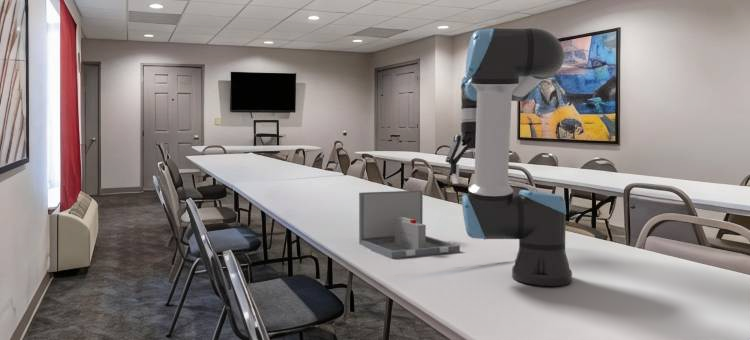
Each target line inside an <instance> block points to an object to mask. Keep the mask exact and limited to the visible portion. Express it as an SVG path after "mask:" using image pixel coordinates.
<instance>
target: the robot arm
mask: <svg viewBox="0 0 750 340" xmlns="http://www.w3.org/2000/svg"><path fill="white" fill-rule="evenodd" d="M564 61H565V51H564V48H563V46H562V43H561V42H560V40H559V39H558V38H557V37H556V36H555V35H554V34H552V33H551V32H549V31H546V30H545V29H541V28H537V27H535V28H533V27H532V28H531V27H530V28H529V27H528V28H493V27H491V28H484V29H477V30H475V31H474V32H473V33H472V35H471V37H470V39H469V44H468V48H467V53H466V61H465V76H463V77H462V78H461V84H460V91H461V93H460V94H461V95H460V98H461V107H460V108H461V110H460V111H461V112H460V113H461V114H460V117H461V119H460V120H461V121H462V122H461V124H460V132H461V135H460V134H457V135H456V134H455V135H453V142H452V144H451V147H450V149H449V151H448V153H447V156H446V158H445V162H446V163H448V164H449V165H450V173H451V176H452V177H451V180H452V184H455V185H457V184H458V185H459V183H460V164H458V163H459V161H460V160H461V159H462V157H463V155H464V154H465V152H466V151H467V150H468V149H469V150H471V149H475V151H474V152H475V153H474V180H473V183H472V184H471V185H470V186H468V189H467V194H466V193H465V194H464V195H462V197H461V200H462V201H461V207H462V214H463V215H462V216H463V222H464V227H465V230H466V234H467V236H468V237H470V238H472V239H479V240H480V239H481V240H484V241H485V240H518V242H519V243H518V245H519V246H518V247H519V248H518V251H517V254H516V258H515V260H514V261H515V262H514V265H513V266H512V269H511V277H512V279H514V280H515V281H517V282H521V283H525V284H530V285H534V286H535V285H536V286H547V287H548V286H550V287H551V286H564V285H569V284H570V283H573V272H572V270H571V269H570V263H569V260H568V257H567V253H566V252H567V251H566V225H567V224H566V219H567V217H566V215H567V208H566V206H567V205H566V200H565V198H564V197H563V196H562V195H559V194H555V193H551V192H550V193H549V192H544V191H538V190H537V191H535V190H527V189H521V190H519V192H518V195H515V194H514V189H513V188H512V187H511V186H510V184H509V182H508V181H509V164H510V163H509V162H510V141H511V120H512V119H511V118H512V102H525V101H526V102H527V101H528V102H529V101H533V100H534V99H535V96H536V93H537V86H538V85H539V84H540V83H541V82H543V80H547V79H550V78H552V77H554V76H555V75H556V73H558V72H559V71H560V70H561V68H562V66H563V64H564ZM461 142H462V143H461Z"/></svg>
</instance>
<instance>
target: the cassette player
mask: <svg viewBox="0 0 750 340" xmlns="http://www.w3.org/2000/svg"><path fill="white" fill-rule="evenodd" d="M426 228H427V227H426V224H423V223H422V224H420V223H416V220H413V219H409V218H405V217H398V219H396V220H395V242H394V244H395V245H396V246H398V247H401V248H402V249H403V250H409V249H420V248H427V247H426V245H427V244H426V242H427V241H426V236H427V235H426V230H427V229H426Z"/></svg>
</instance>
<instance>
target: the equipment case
mask: <svg viewBox="0 0 750 340" xmlns="http://www.w3.org/2000/svg"><path fill="white" fill-rule="evenodd" d="M423 191H424V190H421V189H419V190H398V191H397V190H395V191H372V192H370V191H367V192H364V191H363V192H359V193H358V235H359V236H358V241H359V242H358V244H359V245H361V246H362V247H364V248H365V249H368V250H370V251H371V252H374V253H377V254H380V255H382V256H384V257H387V258H389V259H391V260H392V259H401V258H413V257H422V256H432V255H440V254H442V255H443V254H450V253H452V254H453V253H460V251H461V249H460V248H461V246H460V245H459V244H455V243H452V242H448V241H445V240H440V239H437V238H434V237H431V236H427V235H426V242H429V243H432V244H434V245H436V246H432V247H426V248H420V249H409V250H407V249H401V250H392V249H390V248H387V247H383V246H382V245H380V244H386V243H395V220H396V219H398V217H405V218H409V219H413V220H416V223H420V224H423V212H424V211H423V202H424V201H423V199H424V198H423V196H424V195H423V193H424V192H423Z"/></svg>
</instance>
